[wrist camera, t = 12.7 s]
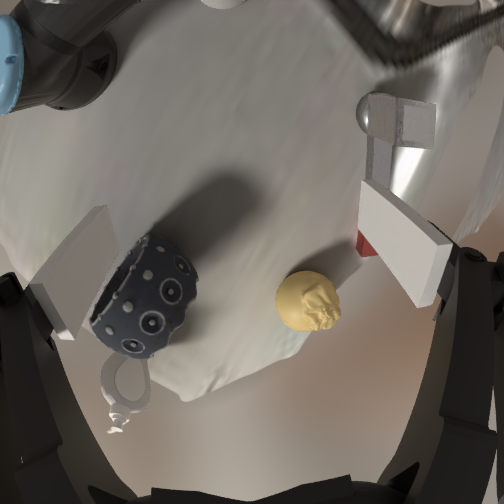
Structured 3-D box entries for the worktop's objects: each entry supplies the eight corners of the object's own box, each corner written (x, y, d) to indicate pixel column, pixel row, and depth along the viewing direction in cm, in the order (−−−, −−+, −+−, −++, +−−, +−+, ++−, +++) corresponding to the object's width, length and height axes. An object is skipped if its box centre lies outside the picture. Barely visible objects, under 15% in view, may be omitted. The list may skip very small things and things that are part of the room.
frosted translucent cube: (367, 94, 36) (398, 97, 28) (402, 98, 36) (436, 104, 28) (367, 134, 39) (396, 146, 31) (401, 136, 39) (433, 149, 32)
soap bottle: (106, 337, 63) (80, 420, 42) (120, 324, 60) (92, 413, 39) (147, 362, 68) (133, 444, 47) (163, 351, 66) (150, 439, 45)
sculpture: (337, 289, 59) (354, 324, 50) (289, 314, 62) (298, 352, 52) (316, 251, 53) (333, 286, 44) (262, 281, 56) (269, 320, 47)
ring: (107, 276, 53) (72, 351, 36) (162, 209, 47) (128, 281, 30) (148, 305, 58) (127, 383, 41) (208, 247, 51) (200, 329, 34)
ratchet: (355, 90, 38) (379, 91, 31) (396, 95, 38) (423, 98, 31) (347, 249, 54) (362, 273, 47) (382, 246, 54) (400, 268, 47)
